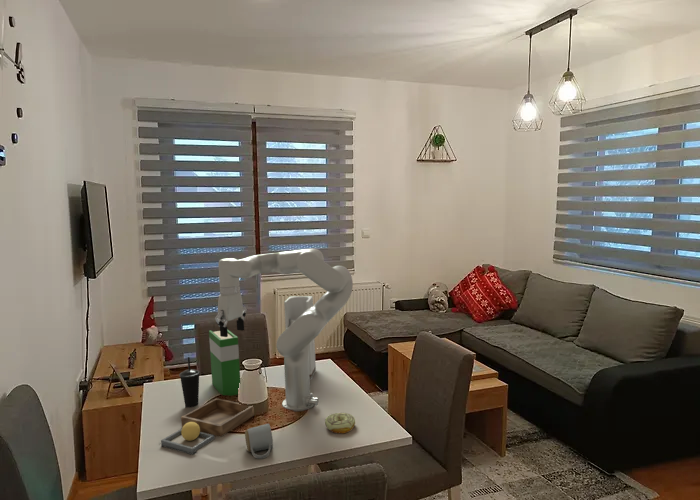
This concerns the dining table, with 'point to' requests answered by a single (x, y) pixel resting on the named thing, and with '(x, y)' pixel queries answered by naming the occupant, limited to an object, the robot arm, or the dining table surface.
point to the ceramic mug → (259, 440)
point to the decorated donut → (340, 422)
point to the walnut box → (218, 416)
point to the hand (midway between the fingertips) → (232, 333)
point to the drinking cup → (190, 386)
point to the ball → (190, 431)
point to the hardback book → (225, 362)
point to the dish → (184, 448)
